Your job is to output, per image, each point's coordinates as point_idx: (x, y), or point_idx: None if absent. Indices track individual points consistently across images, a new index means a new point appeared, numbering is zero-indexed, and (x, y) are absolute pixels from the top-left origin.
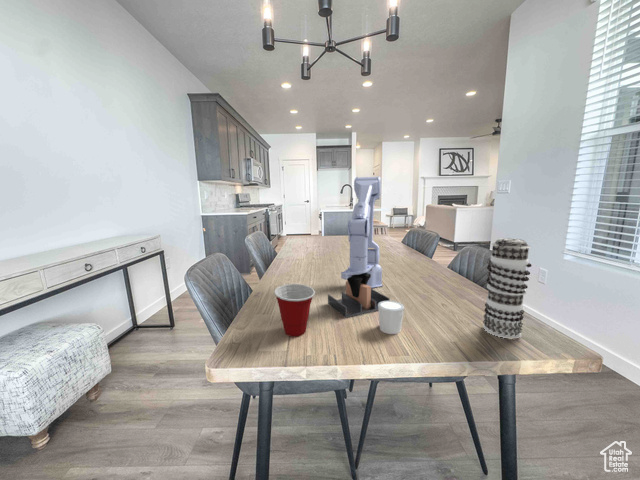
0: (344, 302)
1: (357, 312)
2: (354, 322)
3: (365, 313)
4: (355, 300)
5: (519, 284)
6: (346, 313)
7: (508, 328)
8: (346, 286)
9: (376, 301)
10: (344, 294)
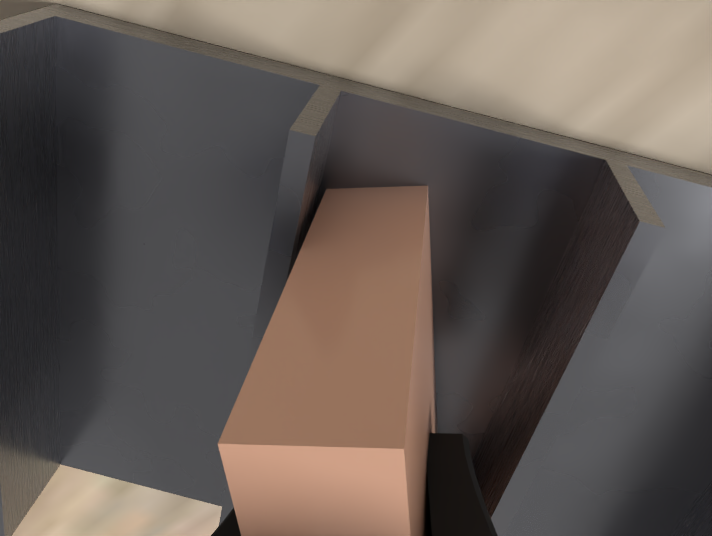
0: (261, 221)
1: (203, 493)
2: (93, 524)
3: None
4: (231, 509)
5: None
6: (43, 482)
7: None
8: (261, 364)
9: (654, 480)
10: (273, 233)
